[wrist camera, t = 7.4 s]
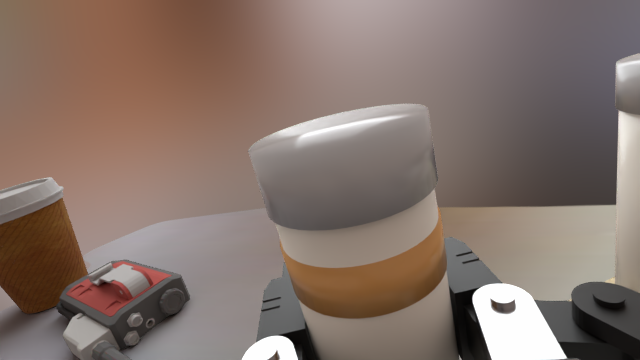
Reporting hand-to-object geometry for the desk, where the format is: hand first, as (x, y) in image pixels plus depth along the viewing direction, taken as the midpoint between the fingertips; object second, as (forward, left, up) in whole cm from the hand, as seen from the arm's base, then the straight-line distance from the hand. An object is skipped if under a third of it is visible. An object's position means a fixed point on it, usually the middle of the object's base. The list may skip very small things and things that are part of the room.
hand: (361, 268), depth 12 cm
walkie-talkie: (-15, +19, -10) cm, 26 cm away
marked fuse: (-1, -3, -8) cm, 8 cm away
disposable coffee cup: (-25, +31, -10) cm, 41 cm away
